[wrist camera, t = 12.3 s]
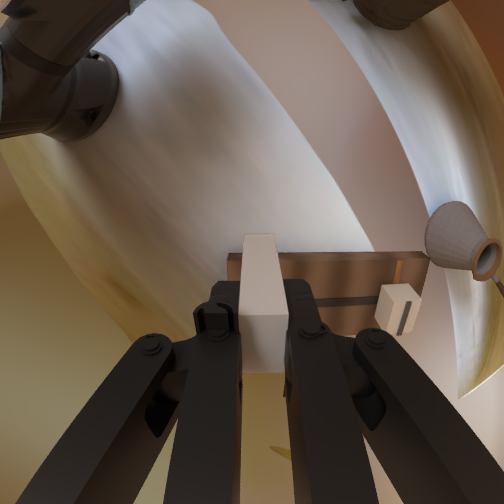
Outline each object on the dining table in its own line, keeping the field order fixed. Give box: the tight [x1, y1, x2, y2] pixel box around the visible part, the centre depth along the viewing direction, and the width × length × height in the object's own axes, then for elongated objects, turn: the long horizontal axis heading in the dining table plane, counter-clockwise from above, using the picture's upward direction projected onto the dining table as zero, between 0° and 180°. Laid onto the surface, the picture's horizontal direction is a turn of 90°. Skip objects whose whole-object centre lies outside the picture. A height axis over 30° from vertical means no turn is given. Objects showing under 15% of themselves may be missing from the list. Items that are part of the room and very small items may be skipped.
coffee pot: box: [425, 201, 504, 297], centre depth 33 cm, size 21×12×15 cm, turn 54°
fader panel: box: [227, 251, 430, 336], centre depth 42 cm, size 32×14×3 cm, turn 91°
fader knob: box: [374, 283, 422, 336], centre depth 38 cm, size 5×6×5 cm
